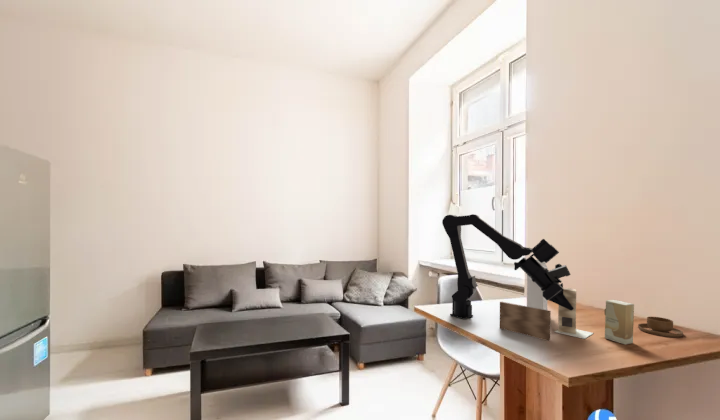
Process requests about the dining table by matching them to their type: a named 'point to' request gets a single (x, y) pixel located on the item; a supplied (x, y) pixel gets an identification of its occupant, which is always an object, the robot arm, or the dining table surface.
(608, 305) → the skincare box
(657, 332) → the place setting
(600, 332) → the dining table surface
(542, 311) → the screen
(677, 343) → the dining table surface
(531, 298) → the milk
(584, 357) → the dining table surface
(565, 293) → the wooden block
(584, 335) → the mat
